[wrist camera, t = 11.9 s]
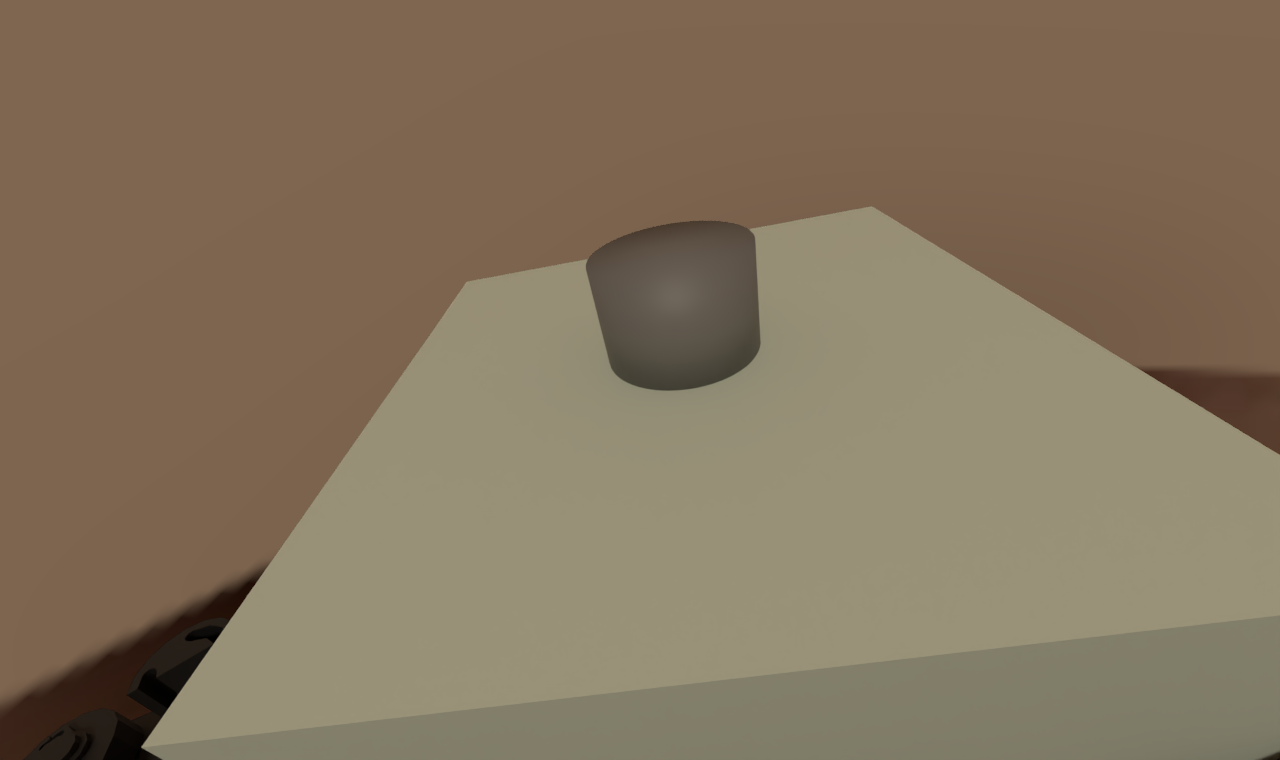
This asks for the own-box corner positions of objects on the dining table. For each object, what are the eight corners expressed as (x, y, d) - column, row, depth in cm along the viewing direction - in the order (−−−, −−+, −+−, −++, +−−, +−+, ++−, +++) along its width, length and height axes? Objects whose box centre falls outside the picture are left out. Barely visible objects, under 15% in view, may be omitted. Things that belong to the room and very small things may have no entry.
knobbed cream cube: (535, 970, 10) (-38, 644, 3) (575, 555, 18) (441, 218, 12) (1048, 933, 9) (1753, 398, 2) (847, 517, 18) (877, 132, 11)
